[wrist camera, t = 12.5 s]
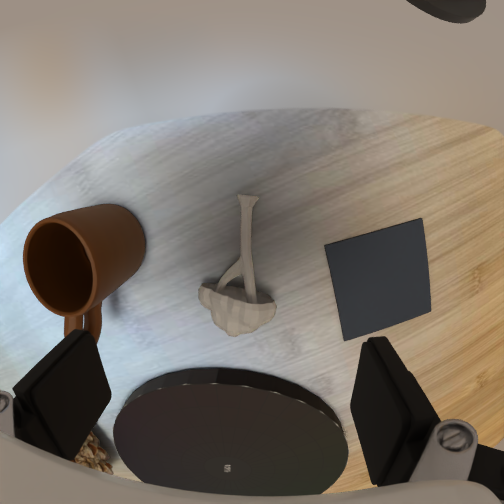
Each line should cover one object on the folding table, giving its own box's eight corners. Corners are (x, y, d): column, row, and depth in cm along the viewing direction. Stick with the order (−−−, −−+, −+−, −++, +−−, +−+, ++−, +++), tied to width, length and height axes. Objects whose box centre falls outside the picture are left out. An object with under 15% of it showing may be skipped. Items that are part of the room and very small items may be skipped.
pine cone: (133, 470, 36) (115, 515, 26) (86, 460, 36) (65, 499, 27) (76, 361, 31) (34, 409, 21) (28, 356, 31) (-13, 393, 22)
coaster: (324, 245, 26) (325, 246, 26) (420, 217, 25) (422, 218, 25) (343, 340, 29) (344, 341, 28) (429, 310, 28) (431, 311, 27)
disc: (334, 494, 36) (337, 507, 33) (157, 494, 38) (154, 507, 35) (353, 353, 29) (361, 369, 26) (89, 362, 31) (77, 376, 28)
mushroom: (282, 196, 22) (265, 353, 23) (292, 202, 26) (277, 334, 27) (195, 190, 23) (185, 335, 25) (217, 196, 28) (207, 320, 29)
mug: (151, 324, 29) (113, 378, 20) (88, 313, 29) (40, 356, 20) (148, 203, 26) (96, 217, 17) (80, 201, 26) (17, 214, 17)
